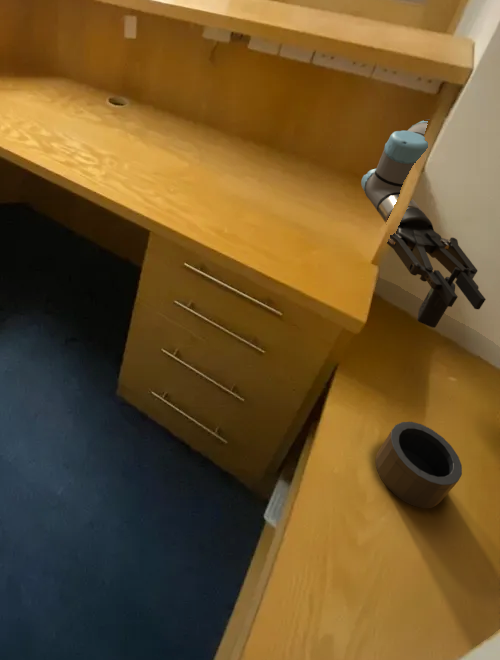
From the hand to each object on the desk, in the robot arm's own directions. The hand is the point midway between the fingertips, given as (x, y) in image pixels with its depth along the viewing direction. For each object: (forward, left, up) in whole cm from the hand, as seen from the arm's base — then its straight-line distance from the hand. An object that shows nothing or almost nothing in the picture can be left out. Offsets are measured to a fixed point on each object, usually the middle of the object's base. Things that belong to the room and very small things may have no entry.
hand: (466, 302), depth 93 cm
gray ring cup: (+8, +22, -23) cm, 32 cm away
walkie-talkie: (+1, -5, -11) cm, 12 cm away
